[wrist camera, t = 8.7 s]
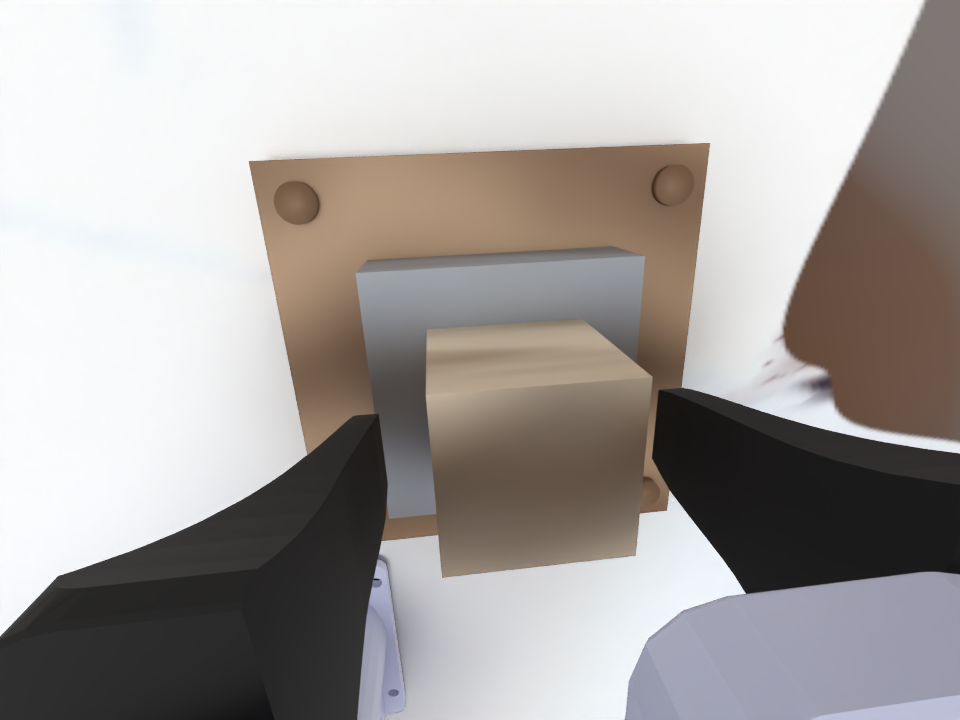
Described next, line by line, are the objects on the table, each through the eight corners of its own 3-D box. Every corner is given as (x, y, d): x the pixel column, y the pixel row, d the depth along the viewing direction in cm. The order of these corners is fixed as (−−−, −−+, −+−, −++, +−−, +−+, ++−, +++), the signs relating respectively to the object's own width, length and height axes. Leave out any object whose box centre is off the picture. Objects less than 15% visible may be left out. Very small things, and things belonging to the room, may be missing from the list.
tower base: (650, 489, 21) (699, 554, 17) (333, 521, 20) (310, 599, 16) (685, 147, 16) (763, 133, 12) (265, 164, 15) (210, 155, 11)
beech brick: (577, 453, 15) (635, 555, 11) (438, 466, 15) (442, 577, 10) (582, 318, 13) (652, 377, 9) (426, 329, 13) (425, 395, 9)
